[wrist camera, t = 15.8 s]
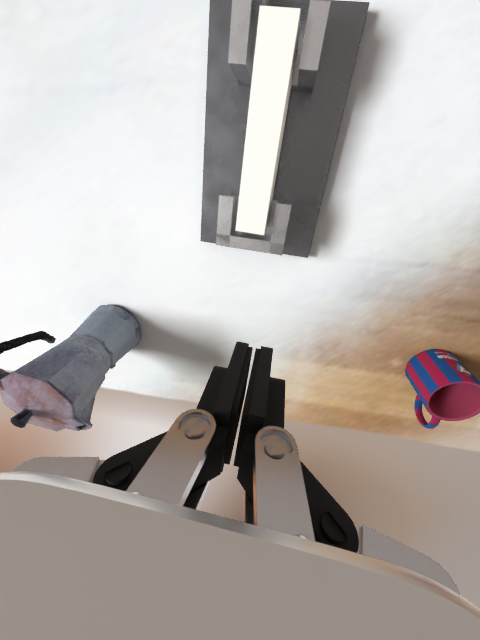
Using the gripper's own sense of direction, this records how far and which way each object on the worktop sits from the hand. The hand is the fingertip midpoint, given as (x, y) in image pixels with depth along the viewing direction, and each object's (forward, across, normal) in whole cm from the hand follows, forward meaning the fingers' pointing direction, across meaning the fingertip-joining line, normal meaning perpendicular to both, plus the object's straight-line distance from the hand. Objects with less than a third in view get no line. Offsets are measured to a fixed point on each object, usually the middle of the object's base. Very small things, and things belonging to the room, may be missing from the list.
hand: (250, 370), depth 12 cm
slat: (+23, +3, -11) cm, 26 cm away
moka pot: (+25, +25, +17) cm, 39 cm away
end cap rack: (+25, +3, -11) cm, 28 cm away
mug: (+25, -25, +15) cm, 39 cm away
